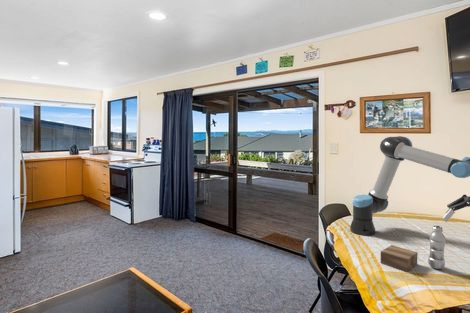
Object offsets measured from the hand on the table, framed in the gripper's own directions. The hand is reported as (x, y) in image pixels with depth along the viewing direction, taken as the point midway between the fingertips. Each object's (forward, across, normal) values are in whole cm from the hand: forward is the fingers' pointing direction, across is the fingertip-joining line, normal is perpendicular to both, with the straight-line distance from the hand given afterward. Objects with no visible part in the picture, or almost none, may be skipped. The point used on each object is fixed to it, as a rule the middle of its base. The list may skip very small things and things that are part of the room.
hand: (457, 224), depth 130 cm
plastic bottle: (+22, 0, -7) cm, 23 cm away
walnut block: (+32, +7, +3) cm, 33 cm away
